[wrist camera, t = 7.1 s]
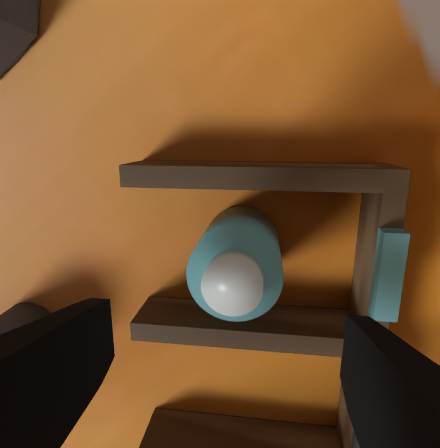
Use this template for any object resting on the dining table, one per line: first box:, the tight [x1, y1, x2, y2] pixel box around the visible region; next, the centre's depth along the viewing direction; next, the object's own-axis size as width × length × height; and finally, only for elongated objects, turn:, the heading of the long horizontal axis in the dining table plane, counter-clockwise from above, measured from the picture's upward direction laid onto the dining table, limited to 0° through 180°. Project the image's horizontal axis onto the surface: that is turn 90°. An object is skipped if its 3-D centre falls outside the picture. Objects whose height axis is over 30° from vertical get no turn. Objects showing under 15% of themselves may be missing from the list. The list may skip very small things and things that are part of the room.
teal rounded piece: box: [186, 206, 283, 322], centre depth 16 cm, size 4×4×6 cm
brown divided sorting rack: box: [119, 160, 411, 448], centre depth 18 cm, size 17×12×4 cm
